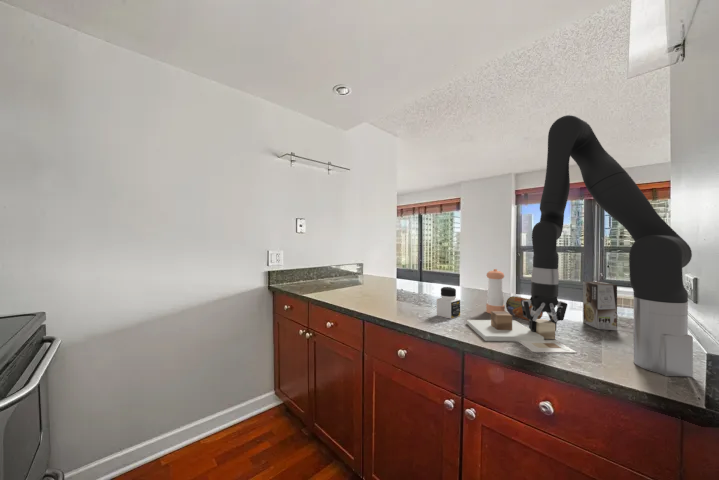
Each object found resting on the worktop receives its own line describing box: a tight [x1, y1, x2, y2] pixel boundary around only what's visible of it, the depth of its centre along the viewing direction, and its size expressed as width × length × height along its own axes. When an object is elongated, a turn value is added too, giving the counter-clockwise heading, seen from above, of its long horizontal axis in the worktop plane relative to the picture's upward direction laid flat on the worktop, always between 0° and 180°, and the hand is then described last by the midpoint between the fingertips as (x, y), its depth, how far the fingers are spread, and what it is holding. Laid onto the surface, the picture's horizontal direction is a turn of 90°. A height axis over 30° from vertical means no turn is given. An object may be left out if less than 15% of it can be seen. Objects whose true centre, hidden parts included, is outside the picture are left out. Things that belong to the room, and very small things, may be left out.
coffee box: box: [582, 280, 618, 331], centre depth 103 cm, size 9×6×16 cm
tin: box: [505, 296, 544, 321], centre depth 114 cm, size 15×3×8 cm, turn 21°
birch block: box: [536, 318, 556, 340], centre depth 92 cm, size 5×5×5 cm
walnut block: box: [490, 310, 513, 330], centre depth 97 cm, size 5×5×5 cm
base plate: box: [466, 319, 545, 342], centre depth 97 cm, size 18×18×2 cm
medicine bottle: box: [436, 286, 461, 320], centre depth 118 cm, size 7×7×12 cm
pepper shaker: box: [485, 268, 506, 315], centre depth 122 cm, size 7×7×19 cm
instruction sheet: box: [517, 339, 578, 354], centre depth 84 cm, size 9×12×1 cm
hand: (542, 331), depth 93 cm, fingers open, 5 cm apart
